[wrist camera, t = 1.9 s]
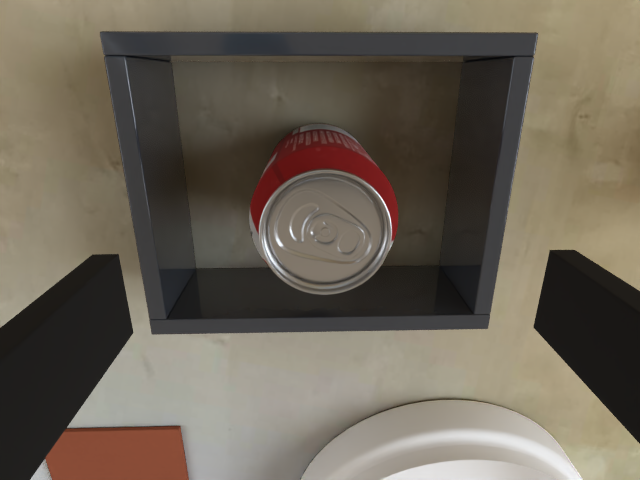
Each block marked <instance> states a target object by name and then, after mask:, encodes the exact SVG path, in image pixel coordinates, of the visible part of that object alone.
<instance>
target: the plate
mask: <svg viewBox="0 0 640 480" xmlns="http://www.w3.org/2000/svg"><path fill="white" fill-rule="evenodd" d="M301 480H583V479H582V477H581V476H580V474H579V473H578V471H577V470H576V468H575V467H574V465H573V464H572V462H571V461H570V460H569V458H568V457H567V455H566V454H565V452H564V451H563V449H562V448H561V446H560V445H559V444H558V442H557V441H556V440H555V439H554V438H553V437H552V436H551V435H550V434H549V433H548V432H547V431H546V430H545V429H543V428H542V427H541V426H540V425H538V424H537V423H535V422H534V421H532V420H531V419H529V418H527V417H525V416H523V415H521V414H519V413H517V412H515V411H512V410H509V409H507V408H504V407H501V406H497V405H493V404H489V403H483V402H477V401H468V400H435V401H425V402H419V403H413V404H408V405H404V406H400V407H396V408H393V409H390V410H387V411H384V412H381V413H378V414H376V415H374V416H371V417H369V418H367V419H365V420H363V421H361V422H359V423H357V424H355V425H354V426H352V427H350V428H348V429H347V430H345V431H344V432H343V433H341V434H340V435H338V436H337V437H336V438H334V439H333V440H332V441H331V442H330V443H328V444H327V445H326V446H325V447H324V448H323V449H322V450H321V451H320V452H319V453H318V454H317V455H316V457H315V458H314V459H313V460H312V462H311V463H310V464H309V466H308V467H307V469H306V471H305V472H304V474H303V476H302V478H301Z"/></svg>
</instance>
